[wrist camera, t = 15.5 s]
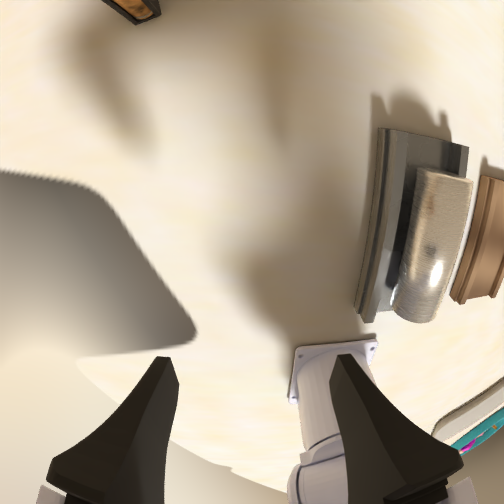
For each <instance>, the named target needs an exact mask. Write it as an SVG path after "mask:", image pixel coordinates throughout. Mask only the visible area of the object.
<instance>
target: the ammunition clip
mask: <svg viewBox="0 0 504 504" xmlns="http://www.w3.org/2000/svg"><path fill="white" fill-rule="evenodd" d="M102 1H103V2H105V3H106V4H108V5H109V6H110V7H112V8H113V9H114V10H116V11H117V12H119V13H120V14H121V15H123V16H124V17H125V18H126V19H128V20H129V21H130V22H132V23H133V24H134V25H137V24H140V23H142V22H145V21H147V20H150V19H153V18H155V17H158V16H160V15H161V11H160V6H159V1H158V0H102Z"/></svg>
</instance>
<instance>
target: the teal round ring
mask: <svg viewBox="0 0 504 504" xmlns="http://www.w3.org/2000/svg"><path fill="white" fill-rule="evenodd" d="M503 425H504V408H503V409H501V410H500V411H498V412H496V413H495V414H494V415H492V416H491V417H489V418H488V419H486V420H485V421H484V422H482V423H481V424H479V425H478V426H477V427H475V428H474V429H473V430H471V431H470V432H468V433H467V434H466V435H464V436H463V437H462V438H460V439H459V440H458V441H456V442H455V443H454V444H453V445H451V447H453V448H455V449H457V450H458V451H459V453H460V455H461V456H462V455H463V454H465V453H467V452H468V451H470V450H472V449H473V448H475V447H476V446H478V445H479V444H480V443H482V442H483V441H485V440H486V439H487V438H489V437H490V436H491V435H492V434H494V433H495V432H496V431H497V430H498V429H499V428H500V427H502V426H503ZM487 429H488V430H487ZM486 430H487V431H486ZM485 431H486V432H485ZM476 437H478V438H476ZM475 438H476V439H475ZM468 443H469V444H468Z"/></svg>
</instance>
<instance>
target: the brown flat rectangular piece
mask: <svg viewBox="0 0 504 504" xmlns="http://www.w3.org/2000/svg"><path fill="white" fill-rule="evenodd" d="M503 278H504V180H500V179H496V178H492V177H488V176H484V175H481V179H480V185H479V191H478V197H477V202H476V207H475V212H474V217H473V221H472V225H471V230H470V233H469V237H468V241H467V245H466V248H465V252H464V255H463V258H462V261H461V265H460V268H459V271H458V274H457V277H456V279H455V282H454V285H453V288H452V290H451V293H450V297H451V298H452V299H453V300H454V302H455V301H457V302H458V304H459V305H461V304H465V302H466V300H467V299H471V298H477V297H482V296H487V295H489V296H490V297H491V298H495V297H496V295H497V292H498V290H499V288H500V285H501V283H502V280H503Z"/></svg>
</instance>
